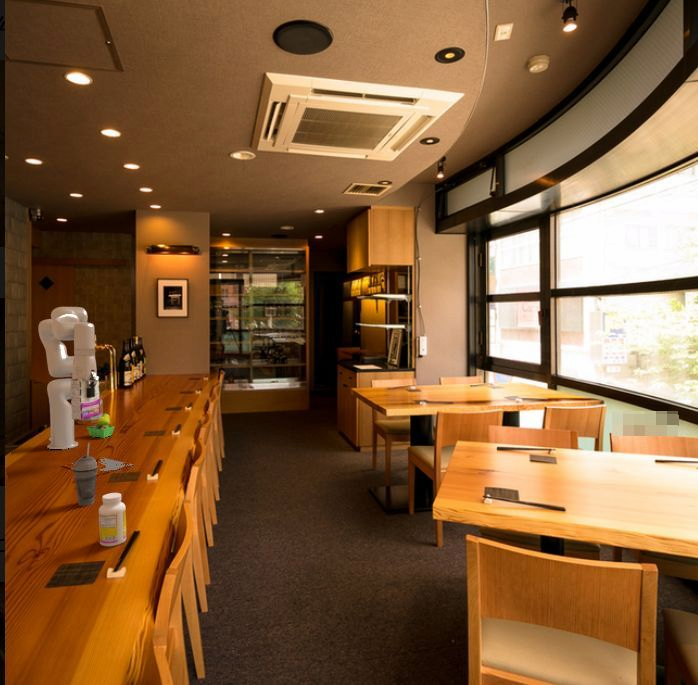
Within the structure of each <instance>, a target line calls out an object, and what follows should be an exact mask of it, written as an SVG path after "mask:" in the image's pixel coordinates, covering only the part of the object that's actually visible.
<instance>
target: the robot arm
mask: <svg viewBox="0 0 698 685" xmlns="http://www.w3.org/2000/svg"><path fill="white" fill-rule="evenodd" d="M50 313H51V314H50V317H51V318H48V319H44V320H42V321H40V322H39V324H38V334H39V338H40V341H41V343H42V344H43V345H42V346H43V347H44V349H45V354H46V355H45V356H46V361H47V362H46V363H47V368H48V373H49V375H50V376H51V377H53V378H57V379H54V380H52V381H50V382H48V384H47V388H46V389H47V395H48V402H49V413H50V414H49V415H50V416H49V417H50V418H49V419H50V437H49V438H48V441H50V443H49V444H48V445H46V446H47V449H48V448H49V449H48V450H50V449H62V450H69V449H72V448H76V447H78V446H79V442H78V441H75V420H74V419H72V404H71V402H69V401H68V400H71V380H72V379H84V381H87V386H88V388H87V398H92V397H95V387H96V384H97V381H98V377H99V376H98V373H97V370H98V369H97V361H96V346H95V345H96V343H95V342H96V341H95V338H96V337H95V334H96V333H95V325H94V323H91V322H88V318H89V317H88V312H87V311H86V309H85V308H84V307H79V306H59V307H55V308H54V309H52V311H51V312H50ZM62 341H73V345H74V346H73V348H74V349H73V353H74V355H72V356H69V355H68V351H67V347H66V345H65V343H64V342H62ZM97 376H98V377H97ZM64 377H65V378H64ZM67 377H71V378H67ZM58 378H59V379H58ZM89 379H91V380H89ZM90 382H91V383H90ZM68 448H69V449H68Z"/></svg>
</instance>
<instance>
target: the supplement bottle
mask: <svg viewBox="0 0 698 685" xmlns="http://www.w3.org/2000/svg"><path fill="white" fill-rule="evenodd" d="M101 499H102V503H103V504H101V506H100V507H99V509H98V530H99V544H100V545H101V546H103V547H115V546H119V545H121V544H123V543H124V542H125V541H126V540H127V519H126V518H127V516H126V515H127V514H126V513H127V512H126V511H127V510H126V509H127V508H126V507H127V506H126V505H125V503H124V502H122V494H121V493H119V492H111V493H107V494H104V495H102V498H101Z"/></svg>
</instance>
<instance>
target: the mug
mask: <svg viewBox="0 0 698 685" xmlns="http://www.w3.org/2000/svg"><path fill="white" fill-rule="evenodd" d="M99 396H100V415H97V416H94V417H90V418H87V419H83V420H76V421H77V422H76V423H78V424H77V425H81V424H90V425H93V424H92V423H97V424H99V423H98V419H99V418H101V417H102V415H103V414H104V405H103V398H104V397H103V394H99Z"/></svg>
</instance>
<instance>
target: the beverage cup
mask: <svg viewBox="0 0 698 685" xmlns="http://www.w3.org/2000/svg"><path fill="white" fill-rule="evenodd" d="M89 454H90V442H88V443H87V450H86V455H83V456H80V457H79V458H78V459H77V460H76V461H75V464H74V469H72V471H73V475H74V480H75V488H76V495H77V502H78V506H81V507H87V506H91V505H93V504H95V497H96V485H97V475H96V474H97V468H98V466H97V462H96V460H95V459H94V457H93V456H90V455H89Z"/></svg>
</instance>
